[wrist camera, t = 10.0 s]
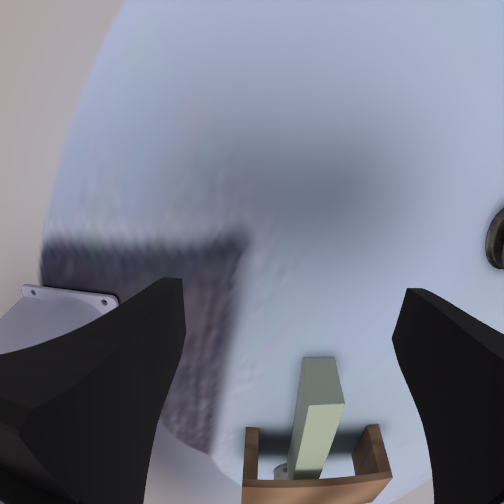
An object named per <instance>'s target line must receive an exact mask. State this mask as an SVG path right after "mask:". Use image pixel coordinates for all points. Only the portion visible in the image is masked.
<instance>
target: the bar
mask: <svg viewBox="0 0 504 504" xmlns="http://www.w3.org/2000/svg"><path fill="white" fill-rule="evenodd" d="M344 405H345V401H344V397H343V392H342V388H341V384H340V380H339V375H338V371H337V367H336V363H335V359H334V357H310V358H303V361H302V368H301V376H300V383H299V390H298V397H297V404H296V410H295V417H294V423H293V429H292V435H291V441H290V447H289V453H288V458H287V473H288V480H308V479H319V477H320V474H321V472H322V469H323V467H324V464H325V461H326V459H327V456H328V453H329V450H330V448H331V445H332V442H333V439H334V436H335V433H336V430H337V427H338V424H339V421H340V418H341V415H342V412H343V409H344Z"/></svg>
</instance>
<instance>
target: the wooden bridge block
mask: <svg viewBox="0 0 504 504" xmlns="http://www.w3.org/2000/svg"><path fill="white" fill-rule="evenodd" d="M258 442H259V428H247V427H246V435H245V451H244V466H243V482H242V502H241V504H364V503H371V502H372V501H373V500H374V499H375V498H376V497H377V496H378V495H379V493H380V492H381V491H382V490H383V489H384V488H385V487H386V485H387V484H388V483H389V482H390V481H391V479H392V478H393V476H392V473H391V469H390V465H389V461H388V457H387V454H386V450H385V446H384V443H383V439H382V436H381V432H380V429H379V425H378V424H375V425H367V427H366V429H365V431H364V433H363V435H362V437H361V439H360V441H359V442H358V444H357V446H356V448H355V450H354V452H353V454H352V459H353V465H354V470H355V475H356V476H349V477H339V478H326V479H308V480H257V474H258Z"/></svg>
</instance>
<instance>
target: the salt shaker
mask: <svg viewBox="0 0 504 504" xmlns="http://www.w3.org/2000/svg"><path fill="white" fill-rule="evenodd" d="M485 249H486V256H487V258H488V261H489V263H490V264H491V265H492V266H493V267H495V268H497V269H504V208H503V209H502V210H501V211H500V212H499V213H498V214H497V215H496V216H495V218H494V220H493V221H492V223H491V225H490V228H489V230H488V233H487V238H486V247H485Z"/></svg>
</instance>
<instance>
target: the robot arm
mask: <svg viewBox="0 0 504 504" xmlns="http://www.w3.org/2000/svg"><path fill="white" fill-rule="evenodd" d="M21 291H22V294H23V298H22V299H20V301H18V302H17V303H16V304H15V305H14V306H13V307H12V308H11V309H10V310H9V311H8V312H7V313H6V314H5V315H4V316H3V317H2V318H1V319H0V504H143V501H144V492H145V486H146V479H147V473H148V467H149V462H150V456H151V451H152V446H153V441H154V437H155V432H156V427H157V423H158V420H159V417H160V413H161V410H162V408H163V405H164V402H165V399H166V397H167V394H168V391H169V388H170V386H171V383H172V380H173V378H174V375H175V372H176V369H177V367H178V364H179V361H180V358H181V354H182V349H183V345H184V340H185V335H186V325H185V313H184V301H183V287H182V279H178V278H164V277H163V278H161V279H159V280H158V281H156V282H154V283H153V284H151V285H150V286H148V287H147V288H145V289H144V290H142V291H141V292H139V293H138V294H136V295H135V296H133V297H132V298H130V299H129V300H127V301H125V302H124V303H122V304H121V305H119V303H118V300H117V298H116V297H115V296H113V295H107V294H99V293H90V292H81V291H73V290H65V289H58V288H50V287H43V286H36V285H29V284H24V285H23V286H22V287H21ZM34 291H35V292H34ZM103 299H104V300H106V301H107V303H106V302H104V300H103ZM392 341H393V345H394V349H395V353H396V357H397V360H398V363H399V366H400V368H401V371H402V373H403V376H404V378H405V380H406V383H407V385H408V387H409V390H410V392H411V395H412V397H413V400H414V402H415V404H416V407H417V409H418V412H419V415H420V418H421V421H422V424H423V427H424V432H425V436H426V440H427V445H428V450H429V456H430V462H431V468H432V477H433V488H434V504H504V334H502V333H500V332H499V331H497V330H495V329H493V328H491V327H490V326H488V325H486V324H484V323H482V322H481V321H479V320H477V319H476V318H474V317H472V316H471V315H469V314H467V313H466V312H464V311H463V310H461V309H459V308H458V307H456V306H454V305H453V304H451V303H449V302H448V301H446V300H444V299H443V298H441V297H439V296H437V295H436V294H434V293H432V292H430V291H428V290H425V289H423V288H407V290H406V294H405V297H404V301H403V304H402V307H401V311H400V314H399V317H398V320H397V324H396V327H395V330H394V333H393V336H392Z"/></svg>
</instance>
